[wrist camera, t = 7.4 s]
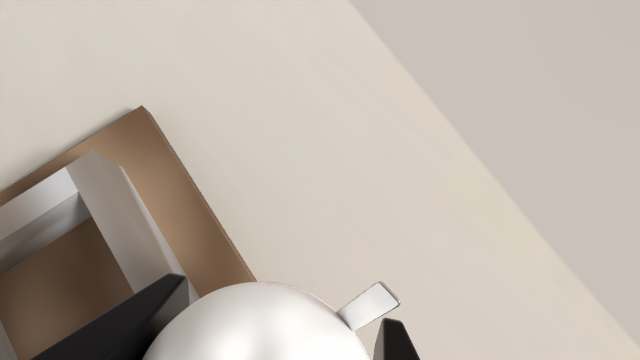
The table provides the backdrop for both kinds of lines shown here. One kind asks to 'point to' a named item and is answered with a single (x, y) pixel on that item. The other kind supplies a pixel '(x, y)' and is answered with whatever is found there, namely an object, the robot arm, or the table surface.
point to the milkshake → (270, 325)
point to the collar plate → (104, 235)
